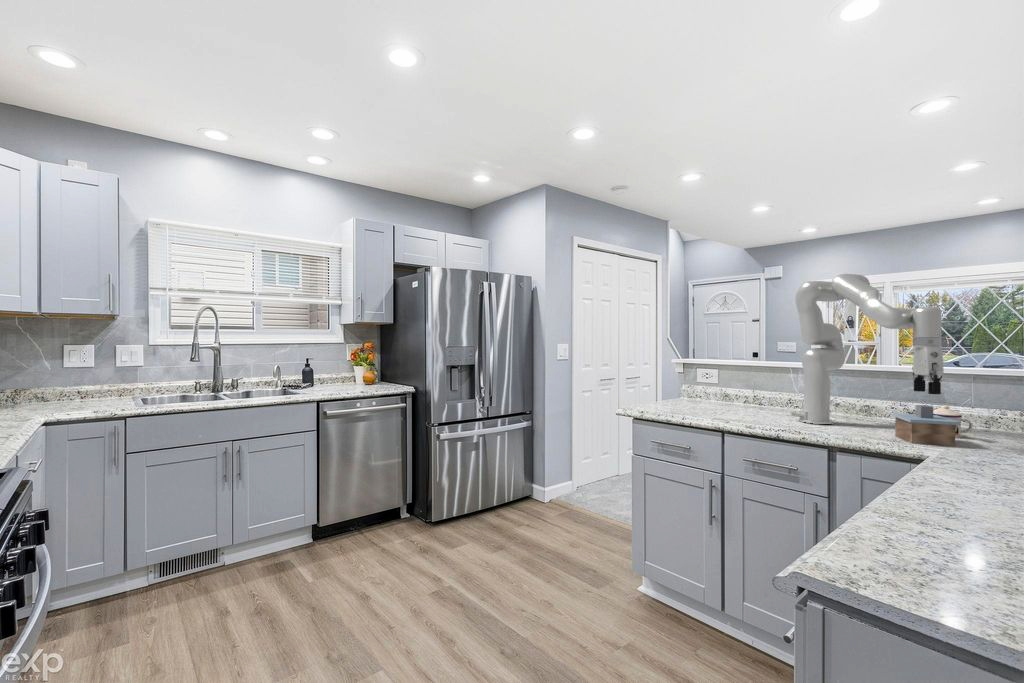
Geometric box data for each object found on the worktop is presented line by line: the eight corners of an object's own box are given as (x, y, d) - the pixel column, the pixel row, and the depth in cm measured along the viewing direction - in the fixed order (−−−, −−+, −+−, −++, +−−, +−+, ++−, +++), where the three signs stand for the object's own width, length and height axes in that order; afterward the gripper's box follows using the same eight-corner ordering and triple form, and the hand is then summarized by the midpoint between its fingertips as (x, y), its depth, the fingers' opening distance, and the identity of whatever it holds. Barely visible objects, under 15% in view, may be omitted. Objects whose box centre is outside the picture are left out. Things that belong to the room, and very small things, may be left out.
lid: (910, 422, 162) (910, 407, 162) (891, 415, 175) (892, 402, 175) (960, 425, 158) (960, 409, 158) (937, 418, 171) (937, 404, 171)
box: (911, 445, 163) (912, 422, 163) (895, 438, 174) (895, 416, 174) (954, 448, 159) (955, 424, 159) (935, 440, 171) (935, 418, 171)
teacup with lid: (930, 438, 175) (931, 406, 175) (925, 433, 183) (926, 403, 183) (975, 442, 169) (976, 409, 169) (968, 437, 177) (969, 406, 177)
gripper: (954, 343, 157) (954, 395, 157) (926, 343, 173) (926, 390, 173) (926, 343, 159) (926, 394, 159) (901, 343, 175) (901, 390, 175)
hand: (926, 392), depth 166 cm, fingers open, 9 cm apart
